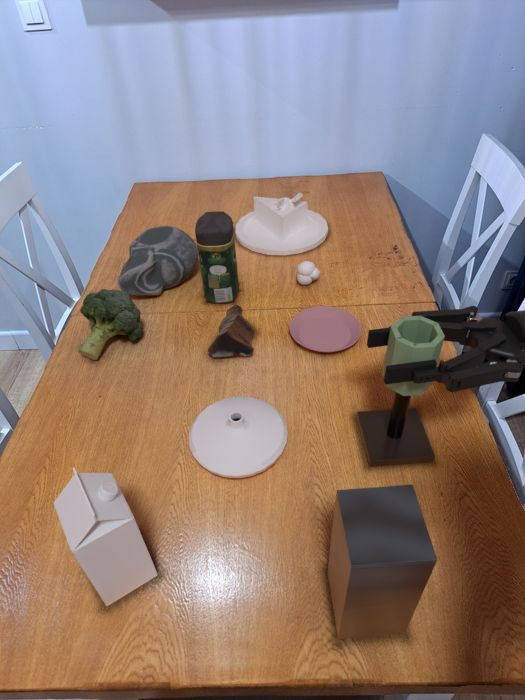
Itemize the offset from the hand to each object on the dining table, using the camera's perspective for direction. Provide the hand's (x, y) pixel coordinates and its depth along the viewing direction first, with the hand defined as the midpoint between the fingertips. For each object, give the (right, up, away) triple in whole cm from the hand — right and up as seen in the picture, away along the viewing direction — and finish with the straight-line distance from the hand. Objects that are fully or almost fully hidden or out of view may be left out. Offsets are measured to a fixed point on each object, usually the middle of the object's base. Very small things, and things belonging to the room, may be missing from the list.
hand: (377, 356), depth 66 cm
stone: (-21, +3, +34) cm, 40 cm away
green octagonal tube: (+5, -3, +4) cm, 7 cm away
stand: (-3, -31, -5) cm, 31 cm away
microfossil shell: (-5, +16, +47) cm, 50 cm away
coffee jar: (-25, +14, +46) cm, 54 cm away
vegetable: (-46, +2, +34) cm, 57 cm away
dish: (-10, +33, +66) cm, 74 cm away
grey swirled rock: (-39, +17, +50) cm, 66 cm away
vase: (-19, -15, +14) cm, 28 cm away
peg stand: (+6, -14, +13) cm, 20 cm away
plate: (-3, +4, +33) cm, 34 cm away
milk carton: (-34, -29, -1) cm, 45 cm away
